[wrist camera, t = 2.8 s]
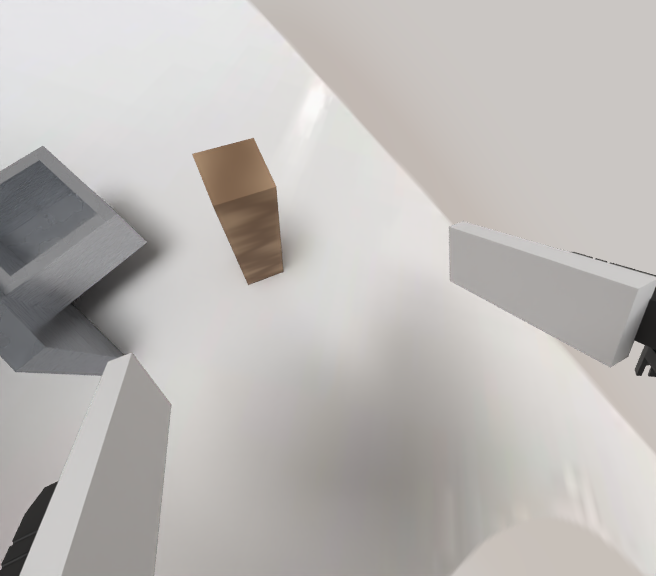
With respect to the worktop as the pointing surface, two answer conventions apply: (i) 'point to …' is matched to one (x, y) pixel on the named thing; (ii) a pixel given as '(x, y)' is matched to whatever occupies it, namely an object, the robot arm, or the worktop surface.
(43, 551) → the robot arm
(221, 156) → the post
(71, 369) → the cup bracket
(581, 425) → the worktop surface
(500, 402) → the worktop surface
